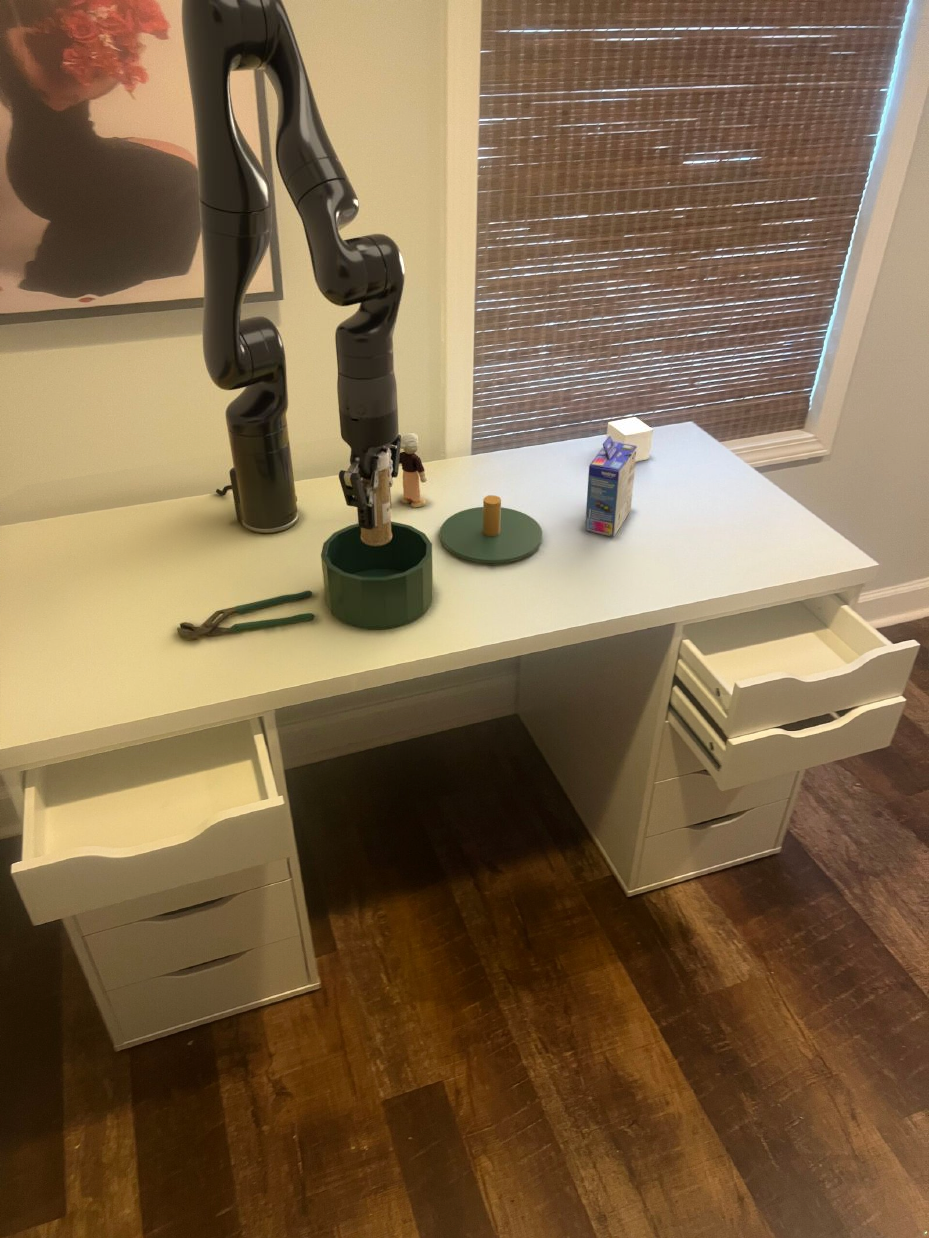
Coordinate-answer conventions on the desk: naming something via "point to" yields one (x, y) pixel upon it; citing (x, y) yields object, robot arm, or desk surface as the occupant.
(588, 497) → the ink cartridge box
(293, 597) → the pliers
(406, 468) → the grandmother figurine
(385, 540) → the sprinkles bottle
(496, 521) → the tin lid
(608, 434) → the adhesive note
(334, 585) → the tin
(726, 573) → the desk surface
